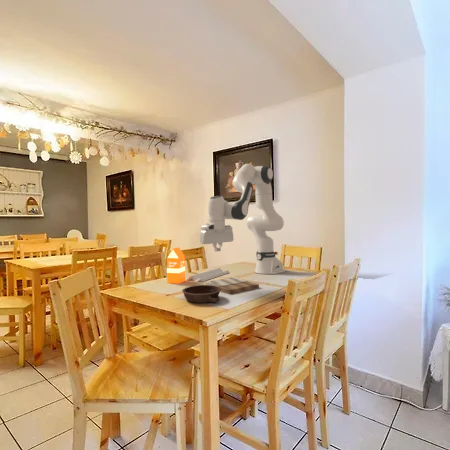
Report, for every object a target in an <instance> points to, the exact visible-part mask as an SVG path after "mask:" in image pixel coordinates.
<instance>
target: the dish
mask: <svg viewBox="0 0 450 450" xmlns="http://www.w3.org/2000/svg"><path fill="white" fill-rule="evenodd" d="M181 291H182V293H183V295H184V298H185V300H187V301H188V302H191V303H197V304H208V303H218V302H219V301H220V295H219V294H220V292H221V289H220V288H219V287H217V286H212V285H206V284H199V285H193V286H192V285H191V286H187V287H184V288H183V289H182V290H181Z"/></svg>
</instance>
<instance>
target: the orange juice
mask: <svg viewBox="0 0 450 450" xmlns="http://www.w3.org/2000/svg"><path fill="white" fill-rule="evenodd" d="M166 257H167V258H166V280H167V284H181V283H184V282H185V281H186V256H185V254H184V253H183V251H182V250H181V248H180V247H175V248H172V249H171V251H170V253H169V254H168V256H166Z"/></svg>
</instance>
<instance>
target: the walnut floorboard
mask: <svg viewBox="0 0 450 450" xmlns="http://www.w3.org/2000/svg"><path fill="white" fill-rule="evenodd" d="M245 281H246V282H241V283H236V284H230V285H225V286H220V287H219V288H220V289H221V291H220V292H221V293H224V294H227V295H232V294H237V293H241V292H246V291H250V290H255V289H259V288H260V284H259V283H256V282H252V281H248V280H245Z"/></svg>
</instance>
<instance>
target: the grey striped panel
mask: <svg viewBox="0 0 450 450" xmlns="http://www.w3.org/2000/svg"><path fill="white" fill-rule="evenodd" d="M246 281H247V280H246V279H243V278H239V277H236V276H233V277H227V278H222V279H214V280H210V281H209V280H207V281H206V283H205V285H212V286H217V287H220V286H225V285H230V284H236V283H241V282H246Z"/></svg>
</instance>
